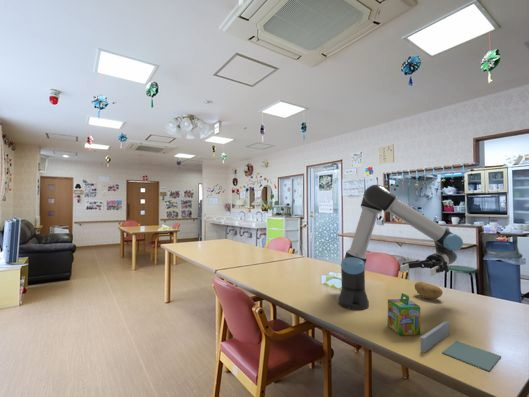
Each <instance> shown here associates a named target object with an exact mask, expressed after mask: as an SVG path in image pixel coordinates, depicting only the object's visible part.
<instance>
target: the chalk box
mask: <svg viewBox="0 0 529 397" xmlns="http://www.w3.org/2000/svg"><path fill="white" fill-rule="evenodd" d="M387 326H388V327H389V328H390V329H391V330H392V331H394V332H395V333H396V334H397V335H398V334H399V335H400V337H402V336H419V335H421V306H420V305H418V304H416V303H415V302H414V301H412V300H410V296H409V295H407V294H406V293H402V292H401V295H400V298H399V299H398V298H393V299H392V298H391V299H387ZM421 336H422V335H421Z"/></svg>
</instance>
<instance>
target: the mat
mask: <svg viewBox="0 0 529 397" xmlns="http://www.w3.org/2000/svg"><path fill="white" fill-rule="evenodd" d="M441 353H442V354H443V355H446V356H448V357H450V358H453V359H456V360H458V361H461V362H463V363H466V364H469V365H471V366H473V365H474V367H476V366H477V367H476V368H478V367H479V368H478V369H482V370H483V369H484V371H486V372H488V371H490V372H491V370H492V369H493V368H494V367H495V365H497V363H498V362H499V361H500V359H501V357H502V356H501V355H499V354H497V353H494V352H491V351H488V350H485V349H481V348H479V347H476V346H474V345H470V344H467V343H464V342H461V341H459V340H455V341H454V342H453V343H451V345H449V346H448V347H447V348H445V349H444V350H443V351H442V352H441Z"/></svg>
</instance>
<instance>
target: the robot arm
mask: <svg viewBox="0 0 529 397" xmlns="http://www.w3.org/2000/svg"><path fill="white" fill-rule="evenodd" d="M360 208H361V212H360V217H359V220H358V222H357V226H356V228H355V231H354V235H353V238H352V241H351V245H350V248H349V249H348V250H346V251H345V255H344V258H342V260H341V262H340V268H341V269H340V272H341V290H340V293H339V296H338V306H340V307H342V308H345V309H348V310H355V311H361V310H366V309H368V308H369V307H370V301H369V299H368V295H367V293H366V277H365V275H366V274H365V271H366V270H365V269H366V263H367V260H368V257H367V255H366V254H367V250H368V246H369V243H370V240H371V238H372V234H373V231H374V227H375V224H376V221H377V218H378V215H379V214H381V213H382V212H389V213H390V214H392V215H393V216H395V217H397V218H398V219H399V220H401V221H403V222H404V223H406V224H407V225H409V226H411V227H412V228H414V229H416V231H418V232H420V233H422V234H423V235H424V236H426V237H428V238H430V239H432V241H433V242H434V247H435V252H434V253H432V254H430V255H427V256H426V258H425V259H424V260H423V259H422V260H420V259H416V260H412V261H405V262H402V264H401V266H399V271H400V273H404V272H407V271H409V270H410V269H418V268H420V269H425V268H426V269H430V275H431V276H432V277H434V276H436V275H437V274H439V273H443V272H445V273H449V265H451V264H453V263H455V262H456V261H457V259H458V253H457V252H456V251H458V250H460V249H461V248H462V247H463V246H464V240H463V238H462V237H461V236H460V235H458V234H457V233H456V234H455V233H453V232H452V231H450V228H449V227H448V226H442V225H440V224H438V222H436V221H433V220H432V219H431V218H429V217H427V216H426V215H424V214H422V213H421V212H419V211H417V210H416V209H415V208H413V207H411V206H409V205H408V204H406V203H405V202H403V201H402V200H400V199H398V196H397V195H396V194H394V193H393V192H391V191H389V189H387V188H386V187H384V186H383V185H381V184H372V185H369V186H368V187H366V189H365V190H364V192H363V197H362V200H361V203H360Z"/></svg>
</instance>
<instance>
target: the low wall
mask: <svg viewBox="0 0 529 397" xmlns="http://www.w3.org/2000/svg"><path fill="white" fill-rule="evenodd" d="M449 335H450V321H447V320H444V321H442V322H441V323H440V324H438V325H437V326H435V327H434V328H432V329H431V330H429V331H427V332H426V333H424V334H423V335H421V336H420V352H421V351H422V353H424V354H425V353H427V350H428V351H429V350H430V349H432V348H433V347H435V344H436V345H437V344H438V343H440V342H441V341H442V340H443V339H445V338H446V337H447V336H449Z"/></svg>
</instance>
